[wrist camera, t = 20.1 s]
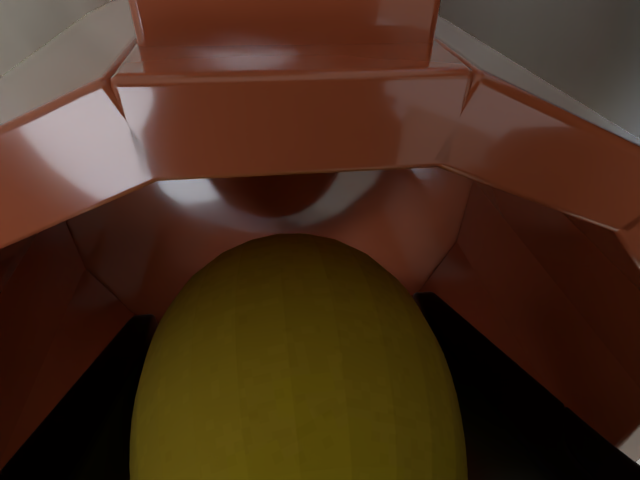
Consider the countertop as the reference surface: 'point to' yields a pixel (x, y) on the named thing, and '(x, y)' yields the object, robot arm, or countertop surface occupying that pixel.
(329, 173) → the pot
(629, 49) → the countertop surface
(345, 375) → the lemon
